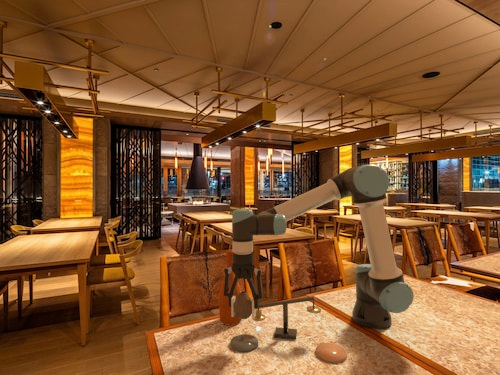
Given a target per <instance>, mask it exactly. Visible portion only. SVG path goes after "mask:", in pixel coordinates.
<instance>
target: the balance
mask: <svg viewBox="0 0 500 375" xmlns="http://www.w3.org/2000/svg"><path fill="white" fill-rule="evenodd" d="M311 301H312V305H309V306H307V307H306V312H308V313H310V314H319V313H321V312H322V308H321V307H319V306H316V305H315V296H306V297H298V298H293V299H286V300H285V299H284V300H279V301H278V300H277V301H271V302H265V303H258V308H257V309H256V316H255V318H254V319H252V321H256V322H261V321H264V320H265V319H266V315H265V314H263V310H262V309H260V308H269V307H275V306H282V323H283V324H282V326H283V327H277V326H276V328H275V330H274V333H273V334H274V338H275V339H283V340H293V341H294V340H295V341H296V340H297V335H298V329H296V328H289V306H288V305H289V304H297V303H306V302H311Z"/></svg>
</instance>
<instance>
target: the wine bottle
mask: <svg viewBox="0 0 500 375" xmlns="http://www.w3.org/2000/svg"><path fill="white" fill-rule="evenodd" d="M233 253H234V252H233V251H232V249H227V250H226V251H225V254H226V258H225V260H226V268H227V267H232V265H233ZM234 278H235V274H234V272H233V271H231V273H230V284H229V292H230V290H231V287H232V284H233V281H234ZM224 284H225V276H224V277H223V280H222V282H221V286H220V289H219V295H218V309H219V321H220V323H222V324H224V325H226V326H233V325H237V324H239V323H241V322H242V320H243V319H239V318H238V317H237V316H236V314H235V316H234V317H232V316H231V307H229V298H228V297H227V296H224ZM242 291H243V290H242V287H241V285H240V283H239V281H238V283H237V286H236V289H235V291H234V295H233V296H235V300H236V298H237V297H238V296H239V294H240V292H242Z"/></svg>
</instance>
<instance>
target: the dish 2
mask: <svg viewBox="0 0 500 375" xmlns="http://www.w3.org/2000/svg"><path fill="white" fill-rule="evenodd" d="M315 354H316V356H317V357H318V359H320V360H322V361H324V362H327V363H332V364H340V363H343V362H345V361H346V360H347V358H348V352H347V350H346V349H345V348H344V347H343V346H341V345H339V344H337V343H334V342H333V343H332V342H322V343H319V344H317V345H316V347H315Z"/></svg>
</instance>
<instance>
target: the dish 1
mask: <svg viewBox="0 0 500 375" xmlns="http://www.w3.org/2000/svg"><path fill="white" fill-rule="evenodd" d="M229 346H230V348H231V349H232V350H233V351H235V352H238V353H249V352H253V351H254V350H256V349H257V348H258V346H259V340H258V338H257V337H256V336H254V335H253V334H252V335H251V334H245V333H243V334H242V333H241V334H237V335H235V336H233V337H232V338H231V339H230V345H229Z"/></svg>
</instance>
